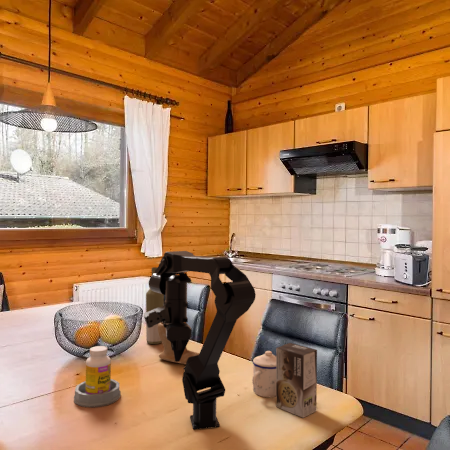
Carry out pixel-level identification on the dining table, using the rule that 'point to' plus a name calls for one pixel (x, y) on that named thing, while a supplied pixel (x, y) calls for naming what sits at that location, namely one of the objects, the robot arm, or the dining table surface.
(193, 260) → the robot arm
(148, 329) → the bottle
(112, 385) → the round bowl
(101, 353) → the supplement bottle
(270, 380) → the teacup with lid
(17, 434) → the dining table surface
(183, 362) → the tan boot-shaped piece
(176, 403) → the dining table surface
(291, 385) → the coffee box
